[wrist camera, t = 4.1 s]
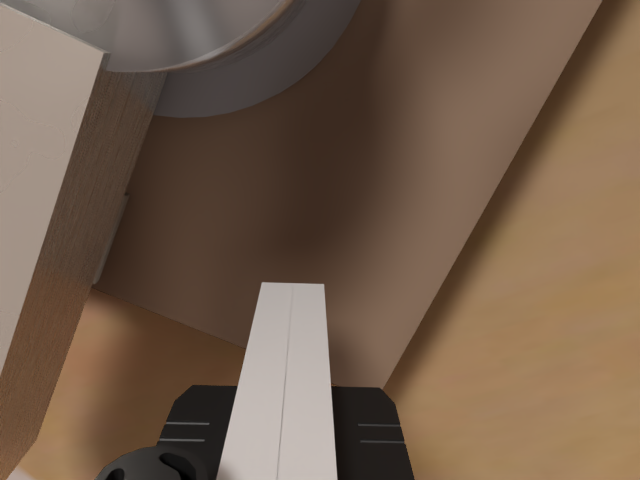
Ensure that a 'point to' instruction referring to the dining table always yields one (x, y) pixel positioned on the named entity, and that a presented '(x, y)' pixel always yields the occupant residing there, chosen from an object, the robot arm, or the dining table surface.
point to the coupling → (84, 158)
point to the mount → (336, 167)
